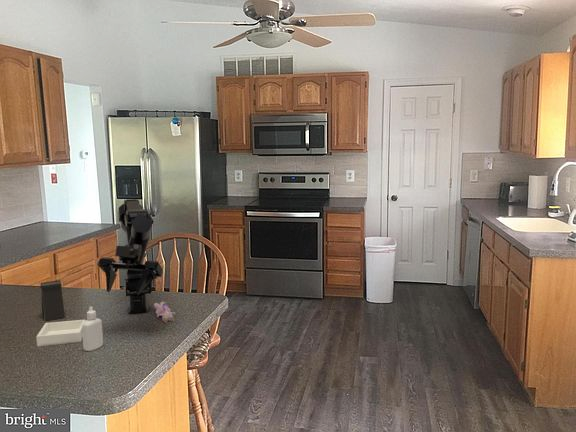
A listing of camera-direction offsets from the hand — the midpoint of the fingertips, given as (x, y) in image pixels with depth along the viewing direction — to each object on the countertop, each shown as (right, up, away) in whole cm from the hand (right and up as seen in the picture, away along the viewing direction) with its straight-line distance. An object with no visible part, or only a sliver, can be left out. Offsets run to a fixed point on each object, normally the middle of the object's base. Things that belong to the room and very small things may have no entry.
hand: (122, 293), depth 143 cm
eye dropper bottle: (-7, -15, -5) cm, 17 cm away
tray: (-19, -14, +3) cm, 24 cm away
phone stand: (-31, -12, +22) cm, 40 cm away
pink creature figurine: (+7, -12, +21) cm, 25 cm away
